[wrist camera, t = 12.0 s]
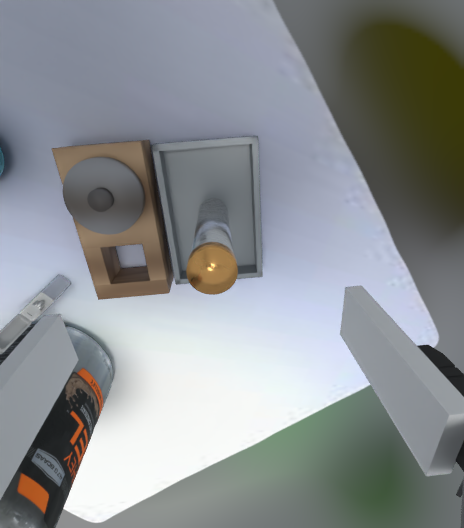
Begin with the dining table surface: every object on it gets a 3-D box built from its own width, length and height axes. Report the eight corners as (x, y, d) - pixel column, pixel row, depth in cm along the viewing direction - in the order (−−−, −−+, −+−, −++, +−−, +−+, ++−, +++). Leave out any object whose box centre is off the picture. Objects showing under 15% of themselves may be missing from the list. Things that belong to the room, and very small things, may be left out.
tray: (156, 143, 30) (151, 144, 28) (254, 135, 31) (258, 136, 28) (178, 273, 37) (175, 284, 34) (259, 266, 37) (262, 276, 35)
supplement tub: (100, 412, 46) (-16, 702, 23) (-8, 385, 43) (-274, 695, 19) (131, 338, 41) (19, 624, 17) (10, 300, 37) (-337, 594, 14)
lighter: (59, 273, 36) (21, 310, 29) (71, 282, 37) (36, 321, 29) (25, 307, 38) (-19, 349, 30) (37, 315, 38) (-4, 358, 31)
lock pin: (196, 198, 32) (183, 250, 19) (226, 196, 33) (236, 246, 19) (199, 228, 34) (189, 296, 20) (229, 225, 34) (239, 292, 20)
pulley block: (70, 145, 30) (35, 150, 24) (149, 139, 30) (133, 142, 24) (109, 282, 37) (89, 312, 31) (173, 276, 37) (165, 305, 31)
